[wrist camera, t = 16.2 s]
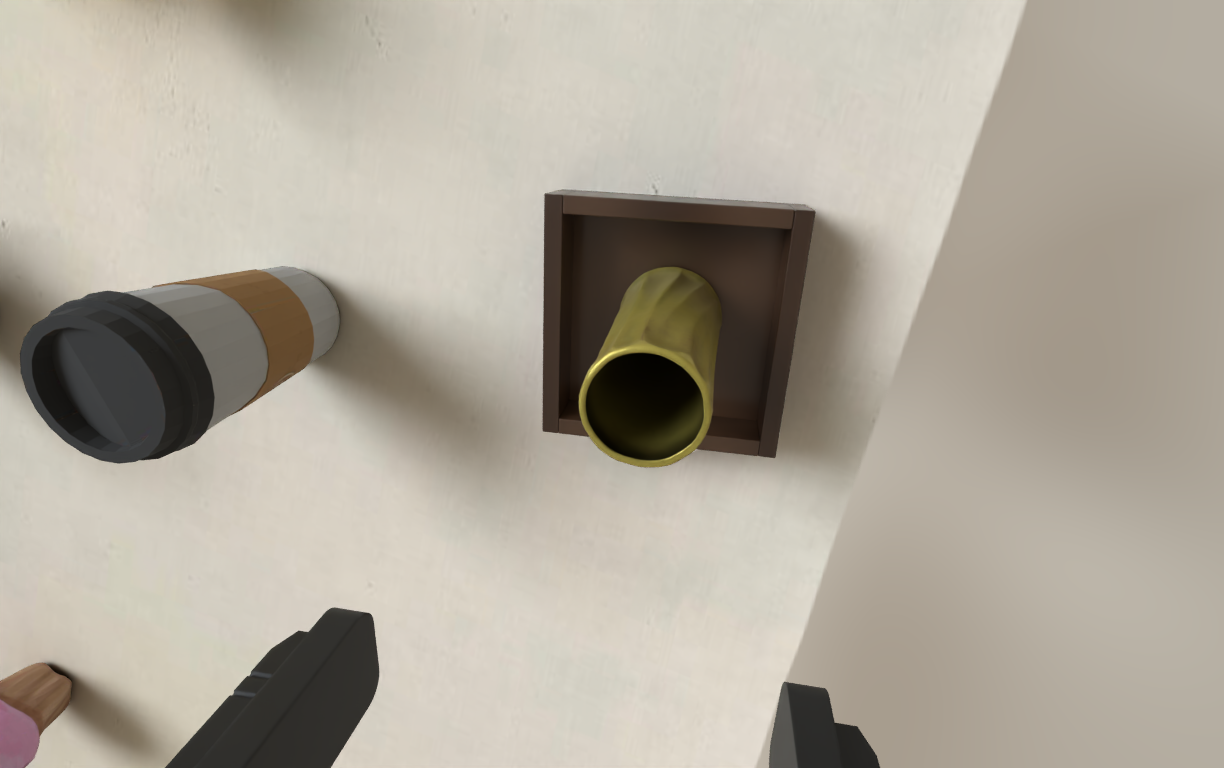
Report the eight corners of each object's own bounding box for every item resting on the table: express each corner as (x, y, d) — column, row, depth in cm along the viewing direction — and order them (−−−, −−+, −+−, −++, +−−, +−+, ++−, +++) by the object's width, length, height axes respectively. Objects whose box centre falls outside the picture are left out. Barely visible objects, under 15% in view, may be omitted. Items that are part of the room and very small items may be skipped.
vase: (723, 362, 37) (726, 478, 24) (624, 366, 39) (575, 479, 25) (720, 262, 35) (721, 329, 22) (615, 269, 36) (557, 337, 23)
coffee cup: (279, 381, 44) (77, 488, 30) (222, 269, 42) (-26, 329, 28) (377, 353, 42) (209, 453, 28) (323, 233, 39) (110, 278, 26)
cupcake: (6, 678, 62) (-119, 771, 52) (25, 628, 58) (-105, 718, 49) (84, 726, 62) (-26, 826, 53) (107, 680, 59) (-6, 778, 50)
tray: (805, 204, 34) (816, 210, 31) (770, 431, 39) (775, 458, 36) (561, 189, 36) (544, 193, 33) (557, 407, 41) (542, 431, 38)
